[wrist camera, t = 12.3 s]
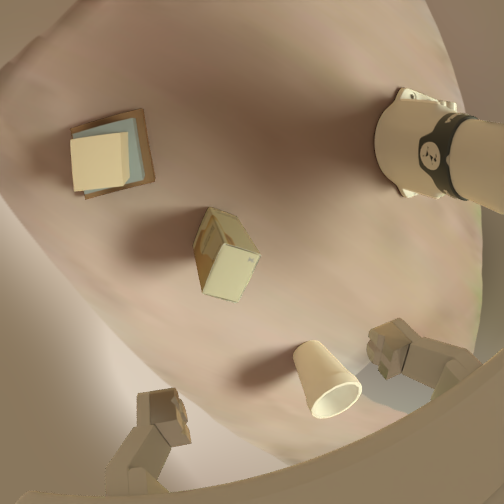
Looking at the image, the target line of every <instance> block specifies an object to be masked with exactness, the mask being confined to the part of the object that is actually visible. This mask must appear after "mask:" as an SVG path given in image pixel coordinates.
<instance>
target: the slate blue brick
mask: <svg viewBox="0 0 504 504" xmlns="http://www.w3.org/2000/svg"><path fill="white" fill-rule="evenodd" d="M120 132H128V147H129V169H130V178H129V179H128V180H127V182H126V183H125V184H128V183H132V182H137V181H141V180H143V179H144V177H145V172H144V166H143V161H142V155H141V149H140V143H139V137H138V131H137V124H136V118H129V119H125V120H121V121H117V122H113V123H109V124H105V125H102V126H98V127H94V128H91V129H88V130H84V131H81V132H78V133H74V134H72V135H73V139H76V138H82V137H89V136H96V135H103V134H112V133H120ZM110 188H112V187H110ZM104 189H108V188H101V189H92V190H84V194H89V193H92V192H96V191H100V190H104Z"/></svg>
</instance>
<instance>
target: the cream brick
mask: <svg viewBox="0 0 504 504" xmlns="http://www.w3.org/2000/svg"><path fill="white" fill-rule="evenodd" d="M70 147H71V163H72V175H73V185H74V192H76V191H84V190H92V189H101V188H110V187H120V186H124V184H125V183H126V182H127V180H128V179H129V178H130V169H129V147H128V132H120V133H112V134H103V135H96V136H89V137H82V138H76V139H71V140H70Z"/></svg>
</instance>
